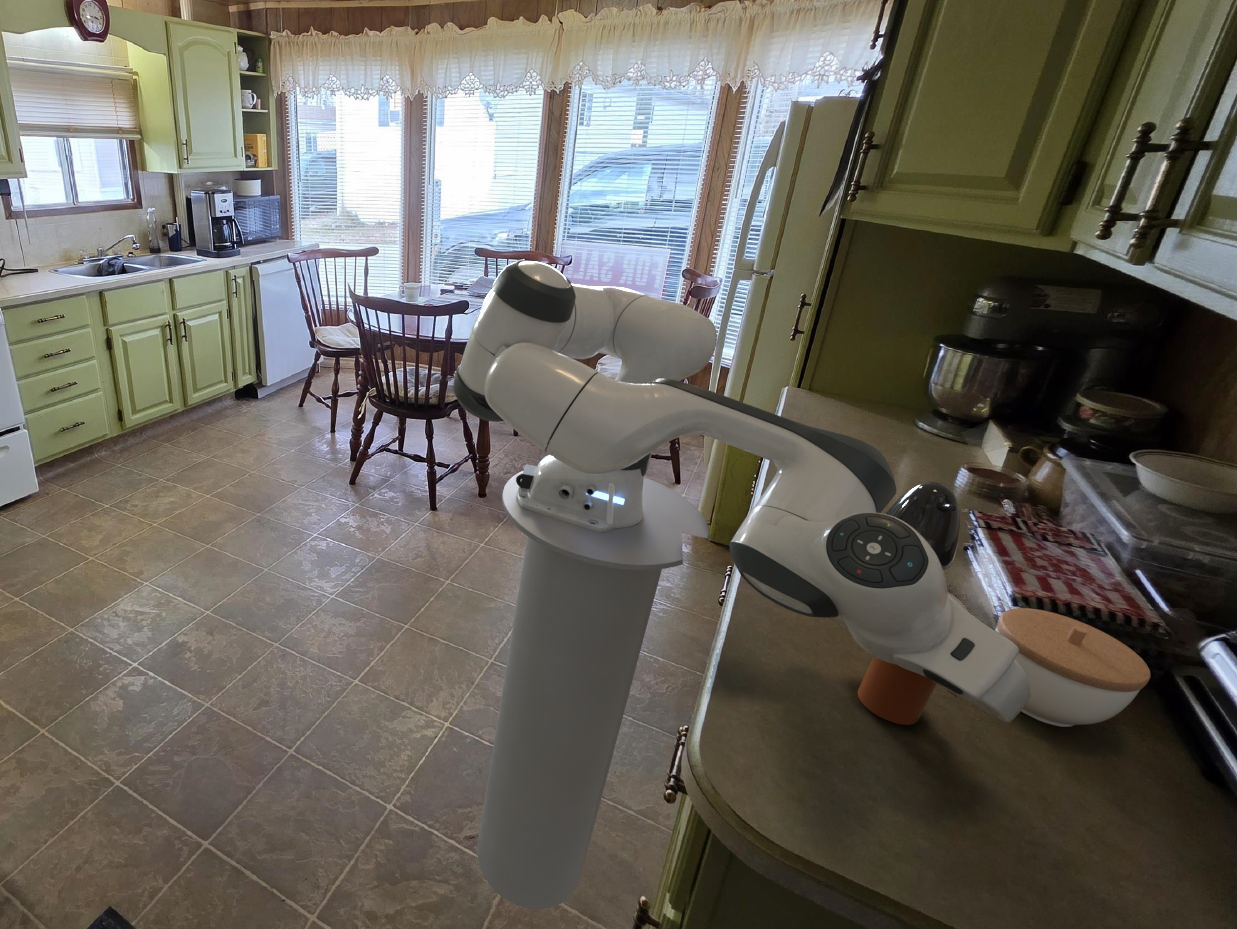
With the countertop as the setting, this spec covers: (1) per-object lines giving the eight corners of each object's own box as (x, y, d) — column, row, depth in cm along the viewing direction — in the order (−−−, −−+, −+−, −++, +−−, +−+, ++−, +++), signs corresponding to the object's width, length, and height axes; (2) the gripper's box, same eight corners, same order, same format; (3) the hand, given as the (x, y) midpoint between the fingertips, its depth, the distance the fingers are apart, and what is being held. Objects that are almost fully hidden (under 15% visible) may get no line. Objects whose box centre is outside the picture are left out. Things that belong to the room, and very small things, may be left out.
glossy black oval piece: (877, 583, 101) (914, 494, 95) (853, 546, 110) (886, 464, 104) (955, 597, 99) (999, 507, 93) (924, 559, 108) (962, 475, 102)
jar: (864, 714, 77) (904, 627, 72) (851, 679, 82) (888, 595, 77) (926, 731, 75) (972, 643, 70) (909, 694, 80) (951, 609, 75)
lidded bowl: (992, 652, 88) (1029, 582, 84) (1124, 718, 78) (1174, 644, 74) (952, 687, 82) (990, 614, 77) (1091, 764, 72) (1143, 686, 68)
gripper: (780, 583, 76) (805, 627, 84) (996, 710, 60) (1001, 750, 68) (815, 540, 76) (837, 589, 85) (1041, 656, 60) (1041, 703, 68)
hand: (912, 662), depth 76 cm, fingers open, 8 cm apart
